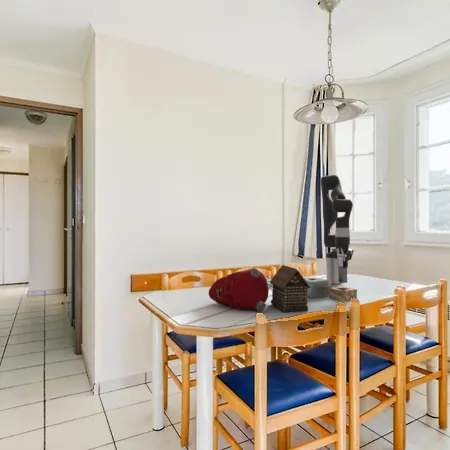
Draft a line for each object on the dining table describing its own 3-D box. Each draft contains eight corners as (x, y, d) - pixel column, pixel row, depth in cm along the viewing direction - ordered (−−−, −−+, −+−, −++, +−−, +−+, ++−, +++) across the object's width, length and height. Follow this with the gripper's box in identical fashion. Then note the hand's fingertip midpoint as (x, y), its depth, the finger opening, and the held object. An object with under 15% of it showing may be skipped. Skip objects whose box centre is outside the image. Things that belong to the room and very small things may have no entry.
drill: (342, 281, 187) (342, 256, 187) (347, 282, 184) (347, 256, 184) (338, 282, 186) (338, 256, 186) (342, 283, 183) (342, 257, 183)
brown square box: (343, 295, 192) (343, 286, 192) (357, 298, 183) (356, 289, 183) (329, 297, 188) (329, 288, 188) (343, 300, 179) (342, 291, 179)
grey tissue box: (325, 290, 204) (325, 275, 204) (339, 294, 193) (339, 278, 193) (297, 294, 195) (297, 278, 195) (311, 298, 185) (311, 281, 185)
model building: (311, 311, 159) (310, 268, 158) (282, 313, 156) (281, 269, 156) (295, 302, 176) (295, 263, 176) (269, 304, 174) (268, 264, 173)
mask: (199, 276, 171) (245, 269, 151) (232, 269, 190) (277, 263, 171) (205, 316, 168) (252, 315, 149) (238, 305, 188) (284, 303, 169)
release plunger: (327, 290, 200) (327, 280, 200) (332, 291, 196) (332, 281, 196) (322, 291, 198) (322, 281, 198) (327, 292, 195) (327, 282, 195)
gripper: (357, 236, 180) (357, 268, 180) (338, 235, 193) (338, 265, 193) (347, 236, 177) (347, 269, 177) (328, 235, 190) (328, 266, 190)
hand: (342, 267), depth 185 cm, fingers closed on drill, 3 cm apart
